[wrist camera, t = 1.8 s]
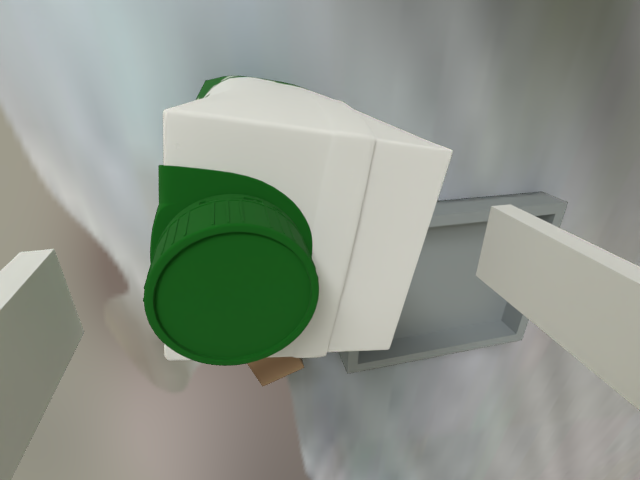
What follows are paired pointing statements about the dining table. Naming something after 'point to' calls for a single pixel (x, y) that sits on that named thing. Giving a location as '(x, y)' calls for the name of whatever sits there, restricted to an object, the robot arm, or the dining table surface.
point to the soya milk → (284, 224)
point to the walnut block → (275, 368)
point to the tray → (455, 287)
